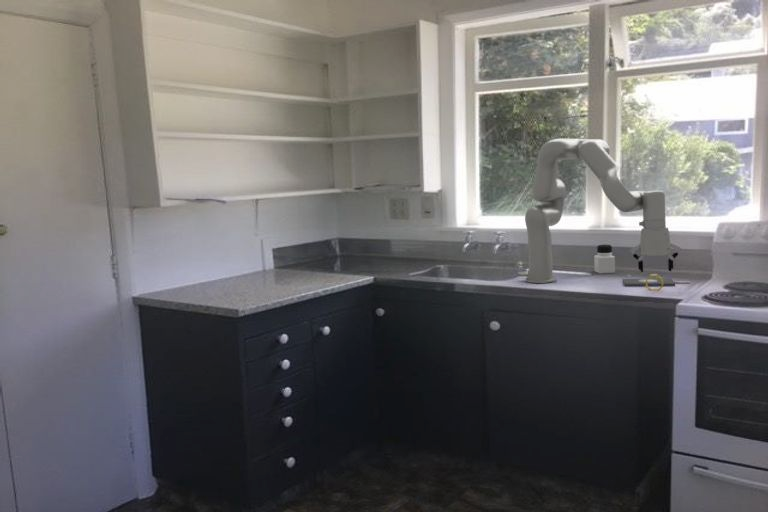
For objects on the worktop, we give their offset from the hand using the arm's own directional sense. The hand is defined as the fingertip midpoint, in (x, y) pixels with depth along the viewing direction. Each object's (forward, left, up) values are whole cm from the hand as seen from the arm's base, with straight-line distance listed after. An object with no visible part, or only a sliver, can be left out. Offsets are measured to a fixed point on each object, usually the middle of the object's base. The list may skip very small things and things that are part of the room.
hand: (655, 271), depth 250 cm
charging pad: (+2, +14, -7) cm, 16 cm away
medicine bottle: (-16, +44, -7) cm, 48 cm away
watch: (0, 0, -7) cm, 7 cm away
